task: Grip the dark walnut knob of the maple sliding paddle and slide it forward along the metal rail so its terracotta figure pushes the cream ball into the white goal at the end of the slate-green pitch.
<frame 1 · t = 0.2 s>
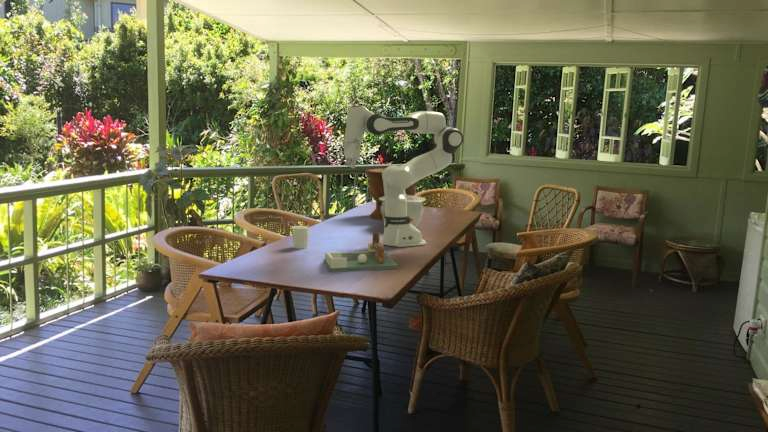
hand: (350, 167, 305), 39 cm above the table, tool pointing down, fingers open, 8 cm apart
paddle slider: (378, 247, 273), point 7 cm above the table, slide at 0.0 cm
white cup: (300, 247, 305), on the table
rail: (357, 262, 277), resting on pitch
chamber pot: (401, 227, 363), on the table
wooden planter: (392, 217, 399), on the table
ball: (362, 258, 268), point 3 cm above the table, touching pitch
pitch: (359, 265, 271), on the table
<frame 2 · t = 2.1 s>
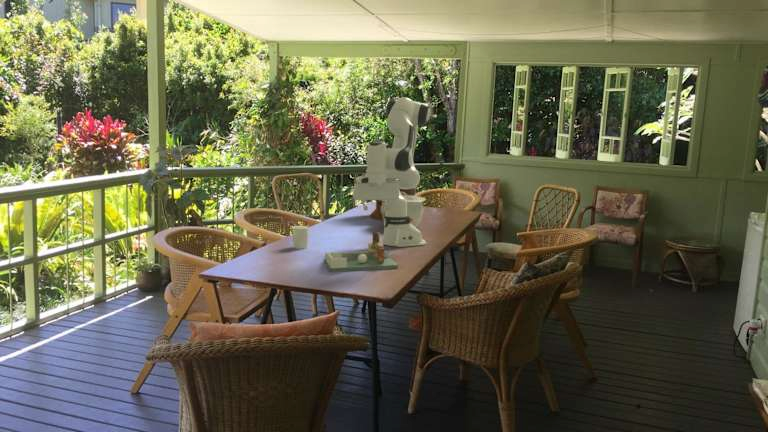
hand: (376, 209, 275), 23 cm above the table, tool pointing down, fingers open, 8 cm apart
nothing on the table moved.
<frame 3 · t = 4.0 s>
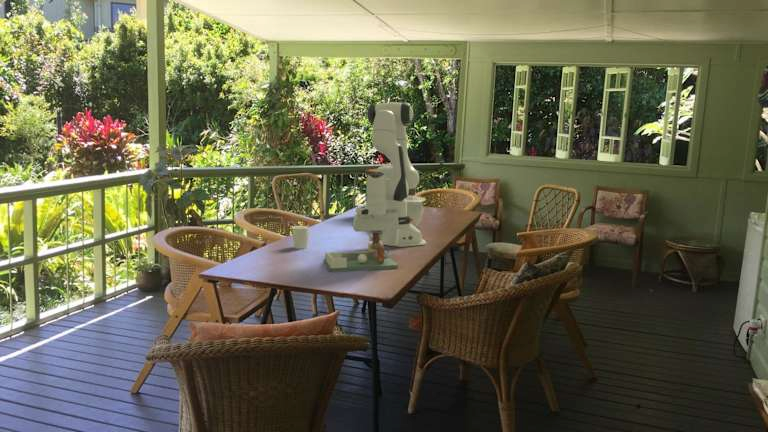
hand: (375, 240, 277), 9 cm above the table, tool pointing down, fingers closed on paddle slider, 3 cm apart
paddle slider: (378, 247, 273), point 7 cm above the table, slide at 0.0 cm, touching gripper
everything else where it was.
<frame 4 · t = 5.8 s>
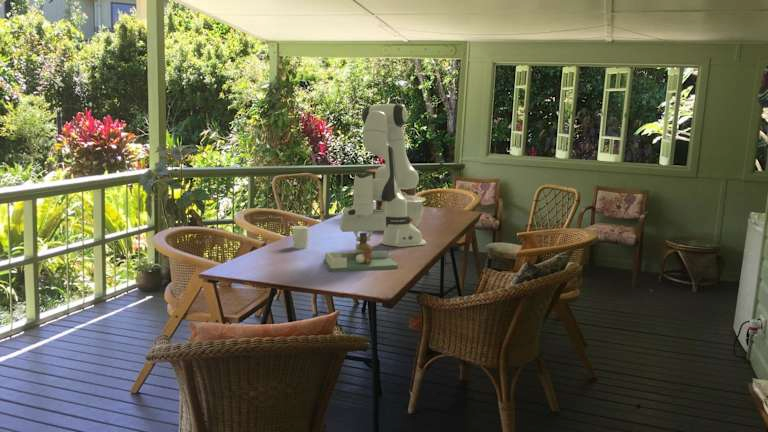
hand: (363, 240, 276), 9 cm above the table, tool pointing down, fingers closed on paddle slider, 3 cm apart
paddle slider: (365, 247, 272), point 7 cm above the table, slide at 5.8 cm, touching gripper
ball: (360, 258, 268), point 3 cm above the table, tilted 21°, touching pitch
everything else where it was.
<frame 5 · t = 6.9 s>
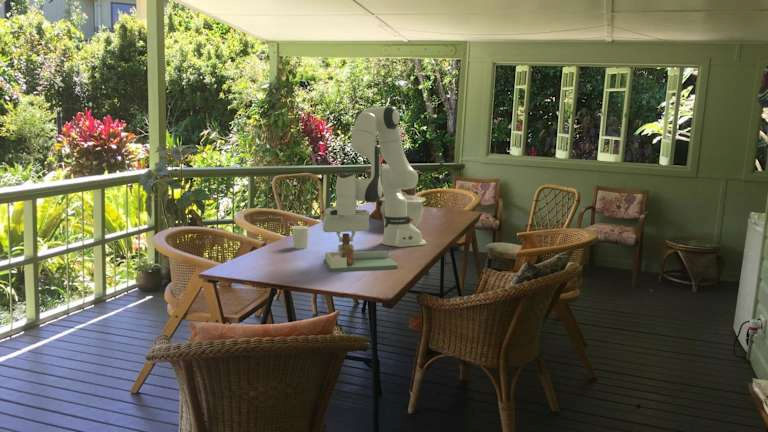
hand: (345, 241, 274), 9 cm above the table, tool pointing down, fingers closed on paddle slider, 3 cm apart
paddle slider: (347, 248, 270), point 7 cm above the table, slide at 13.5 cm, touching gripper
ball: (337, 259, 265), point 3 cm above the table, tilted 48°, touching pitch
everything else where it was.
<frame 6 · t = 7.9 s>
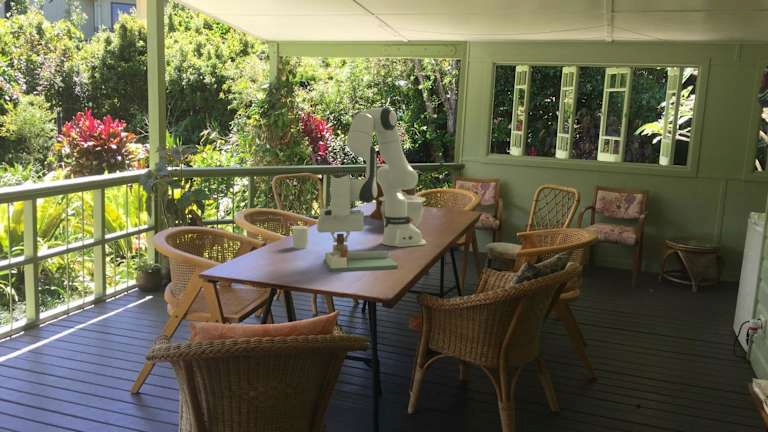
hand: (340, 241, 273), 9 cm above the table, tool pointing down, fingers closed on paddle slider, 3 cm apart
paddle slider: (342, 248, 269), point 7 cm above the table, slide at 16.0 cm, touching gripper
ball: (336, 259, 265), point 3 cm above the table, tilted 34°, touching pitch
everything else where it was.
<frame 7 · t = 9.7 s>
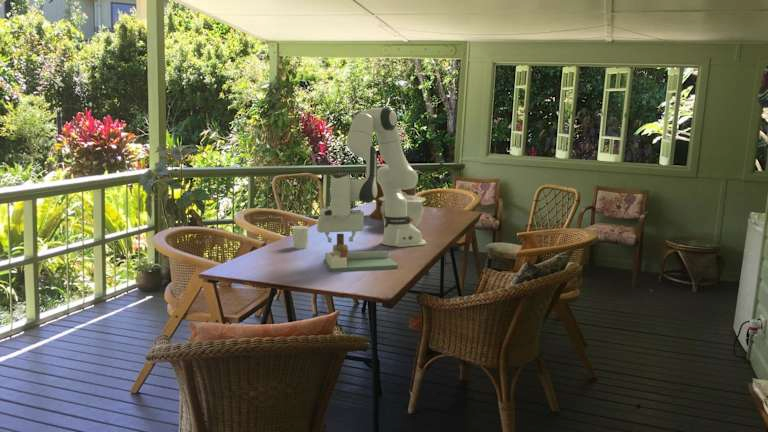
hand: (340, 241, 273), 9 cm above the table, tool pointing down, fingers open, 8 cm apart
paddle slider: (342, 248, 269), point 7 cm above the table, slide at 16.0 cm
everything else where it was.
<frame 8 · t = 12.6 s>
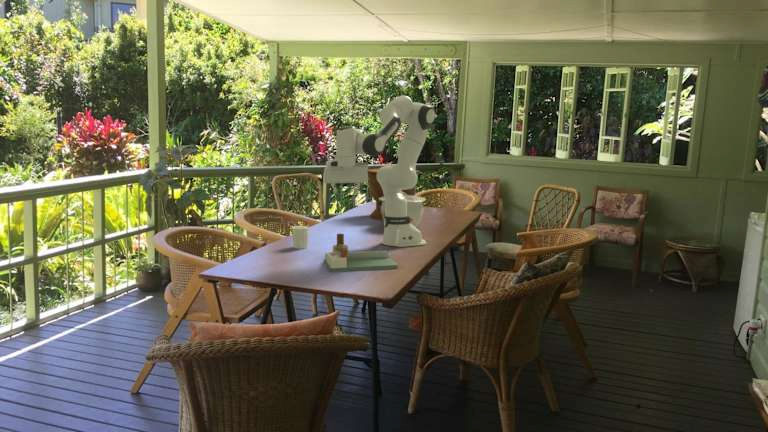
hand: (345, 192, 284), 29 cm above the table, tool pointing down, fingers open, 8 cm apart
nothing on the table moved.
at the end: ball inside the target area on the pitch (0.2 cm from its centre), point 3.5 cm above the pitch's base; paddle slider slide at 16.0 cm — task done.
